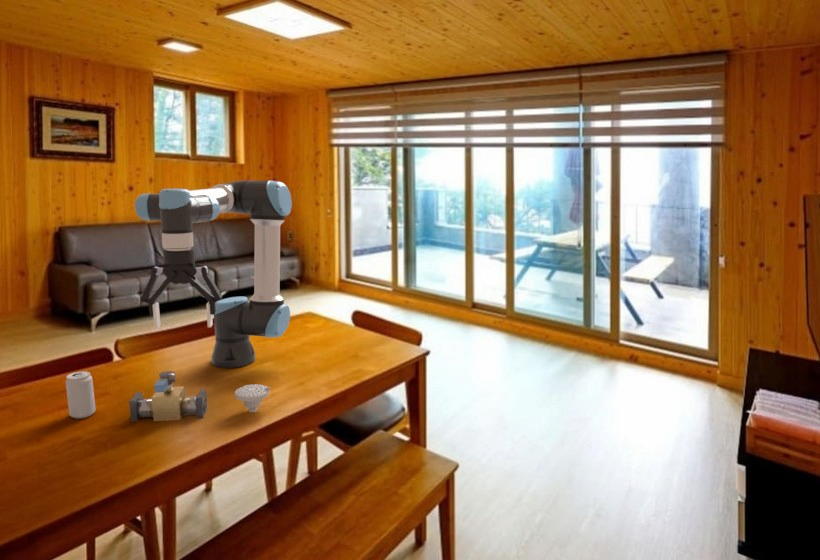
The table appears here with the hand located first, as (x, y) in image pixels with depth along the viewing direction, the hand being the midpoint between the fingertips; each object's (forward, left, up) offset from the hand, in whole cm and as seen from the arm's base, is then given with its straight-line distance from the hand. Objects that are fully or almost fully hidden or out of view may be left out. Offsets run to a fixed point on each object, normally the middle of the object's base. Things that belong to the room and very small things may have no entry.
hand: (184, 326), depth 148 cm
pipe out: (-11, -7, -27) cm, 30 cm away
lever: (-5, -4, -17) cm, 18 cm away
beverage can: (-26, -18, -27) cm, 41 cm away
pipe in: (-2, +3, -27) cm, 27 cm away
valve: (-7, -2, -27) cm, 28 cm away
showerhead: (+9, +14, -27) cm, 32 cm away
